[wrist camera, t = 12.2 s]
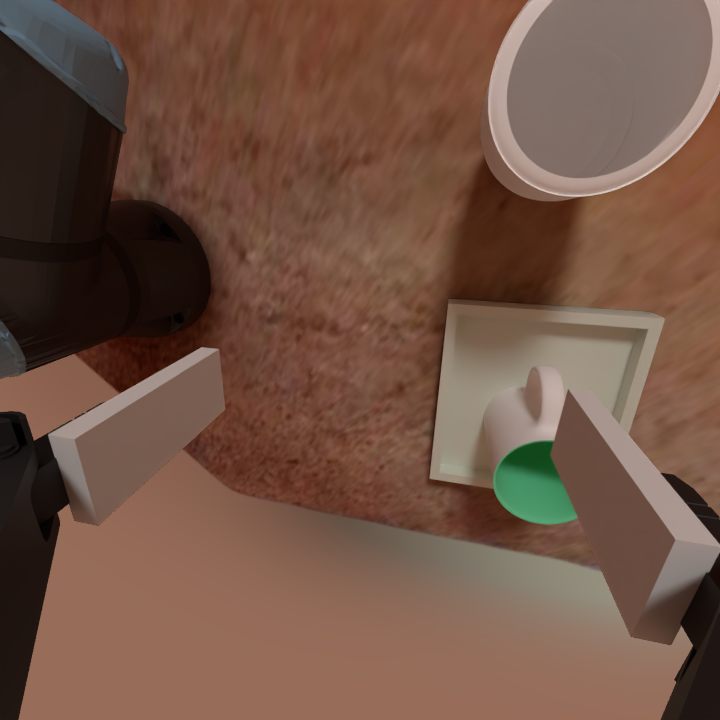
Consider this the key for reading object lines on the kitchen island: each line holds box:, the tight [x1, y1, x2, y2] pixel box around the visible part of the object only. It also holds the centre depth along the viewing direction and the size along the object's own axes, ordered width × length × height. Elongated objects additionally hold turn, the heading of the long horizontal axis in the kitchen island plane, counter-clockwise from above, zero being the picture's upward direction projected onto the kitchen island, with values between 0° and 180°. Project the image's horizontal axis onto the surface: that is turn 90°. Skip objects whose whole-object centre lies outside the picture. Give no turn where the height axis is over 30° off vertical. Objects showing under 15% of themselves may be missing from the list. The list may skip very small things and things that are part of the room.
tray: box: [430, 299, 665, 489], centre depth 39 cm, size 18×20×2 cm
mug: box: [484, 365, 578, 524], centre depth 35 cm, size 12×8×10 cm, turn 4°
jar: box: [480, 0, 720, 201], centre depth 25 cm, size 11×10×15 cm
